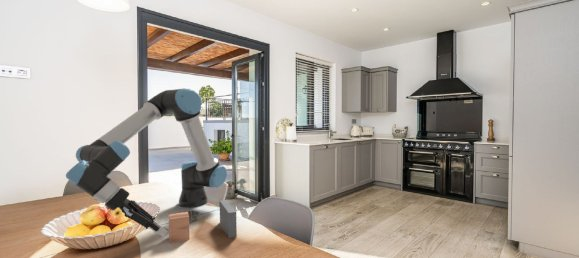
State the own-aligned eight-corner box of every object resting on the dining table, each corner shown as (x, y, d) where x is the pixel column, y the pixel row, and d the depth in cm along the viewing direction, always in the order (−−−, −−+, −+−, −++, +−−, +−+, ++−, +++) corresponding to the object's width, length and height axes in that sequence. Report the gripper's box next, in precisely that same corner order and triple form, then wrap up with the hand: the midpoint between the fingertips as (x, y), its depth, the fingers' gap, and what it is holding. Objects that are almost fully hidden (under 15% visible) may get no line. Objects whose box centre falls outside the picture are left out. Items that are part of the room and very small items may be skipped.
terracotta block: (169, 236, 108) (168, 214, 108) (188, 233, 111) (187, 211, 111) (169, 243, 102) (169, 219, 102) (189, 239, 106) (189, 216, 105)
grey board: (219, 222, 122) (219, 200, 122) (226, 221, 124) (226, 199, 123) (229, 238, 106) (228, 212, 106) (236, 236, 107) (236, 211, 107)
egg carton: (181, 226, 119) (180, 217, 119) (171, 222, 123) (171, 214, 123) (201, 219, 127) (201, 210, 127) (192, 215, 132) (191, 207, 132)
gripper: (107, 199, 101) (157, 234, 109) (99, 209, 89) (157, 249, 97) (123, 183, 103) (172, 219, 111) (118, 191, 91) (173, 231, 99)
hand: (165, 233), depth 104 cm, fingers closed
